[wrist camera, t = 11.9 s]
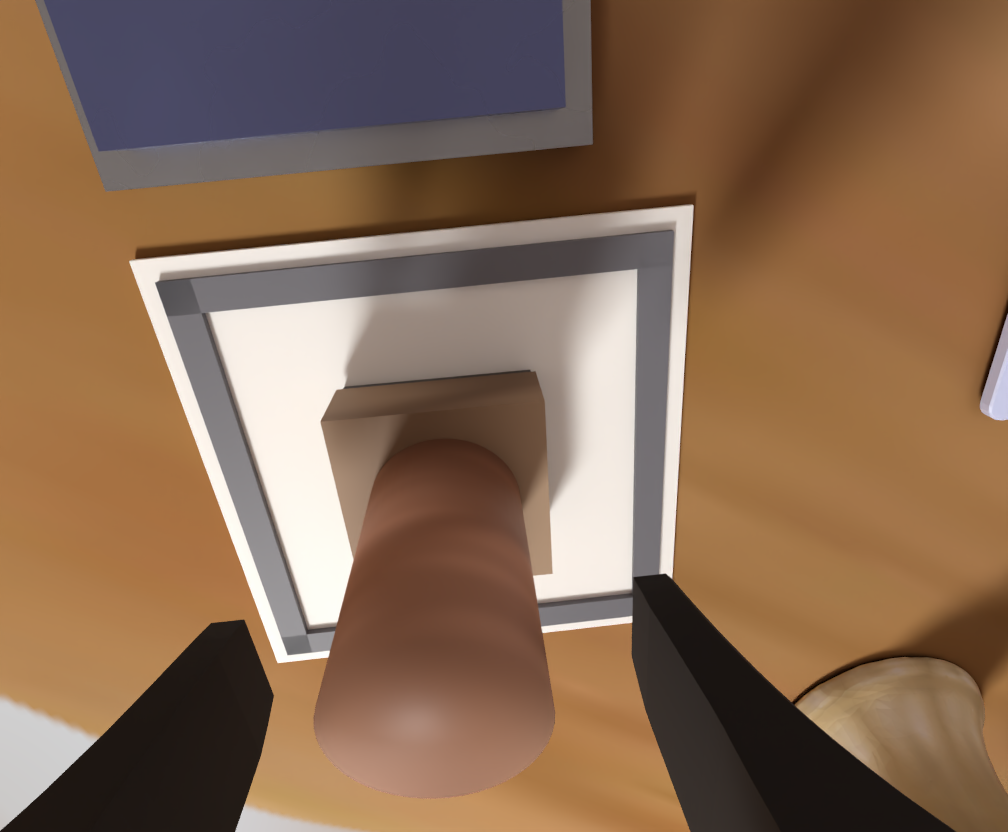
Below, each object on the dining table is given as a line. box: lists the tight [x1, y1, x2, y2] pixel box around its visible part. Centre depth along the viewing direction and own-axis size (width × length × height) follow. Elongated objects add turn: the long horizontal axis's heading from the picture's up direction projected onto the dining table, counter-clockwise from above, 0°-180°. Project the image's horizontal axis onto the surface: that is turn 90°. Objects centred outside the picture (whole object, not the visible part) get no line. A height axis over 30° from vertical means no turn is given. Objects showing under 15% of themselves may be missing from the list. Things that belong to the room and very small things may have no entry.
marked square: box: [129, 204, 694, 663], centre depth 16 cm, size 13×13×1 cm
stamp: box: [314, 370, 555, 798], centre depth 12 cm, size 5×5×8 cm
